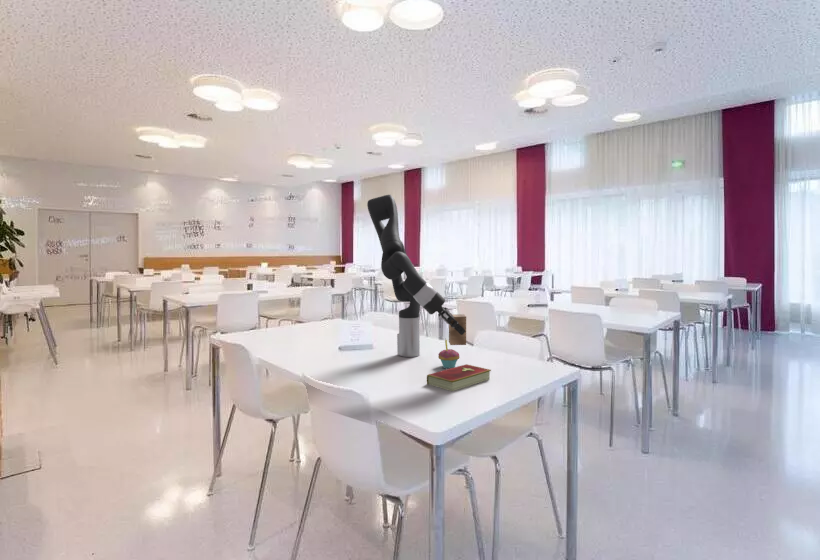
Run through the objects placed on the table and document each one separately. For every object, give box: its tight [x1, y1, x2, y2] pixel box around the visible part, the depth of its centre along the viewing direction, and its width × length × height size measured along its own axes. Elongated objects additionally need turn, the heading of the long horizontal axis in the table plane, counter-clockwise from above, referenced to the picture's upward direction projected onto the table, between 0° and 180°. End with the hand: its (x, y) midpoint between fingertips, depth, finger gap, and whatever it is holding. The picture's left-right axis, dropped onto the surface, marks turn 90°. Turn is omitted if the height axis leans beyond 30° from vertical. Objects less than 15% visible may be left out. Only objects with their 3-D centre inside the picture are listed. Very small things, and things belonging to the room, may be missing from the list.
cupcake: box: [437, 338, 460, 369], centre depth 183 cm, size 9×8×12 cm
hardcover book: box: [426, 364, 492, 392], centre depth 162 cm, size 12×21×4 cm, turn 133°
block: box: [448, 313, 467, 346], centre depth 161 cm, size 6×6×10 cm
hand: (462, 331), depth 162 cm, fingers closed on block, 5 cm apart
